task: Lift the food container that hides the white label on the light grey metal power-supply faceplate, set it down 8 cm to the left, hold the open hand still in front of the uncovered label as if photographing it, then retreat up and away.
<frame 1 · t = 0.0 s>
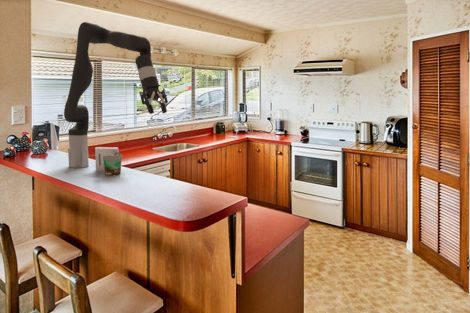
hand: (158, 113, 160), 31 cm above the counter, tool tilted 20°, fingers open, 8 cm apart
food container: (115, 174, 177), on the counter
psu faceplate: (107, 170, 185), on the counter
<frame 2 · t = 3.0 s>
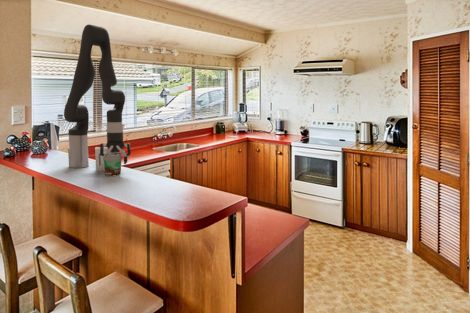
hand: (116, 164, 176), 5 cm above the counter, tool pointing down, fingers open, 8 cm apart
nothing on the counter moved.
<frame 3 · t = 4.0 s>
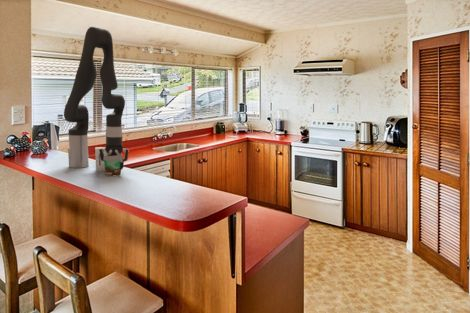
hand: (114, 169, 177), 3 cm above the counter, tool pointing down, fingers closed on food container, 6 cm apart
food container: (116, 174, 178), on the counter, touching gripper
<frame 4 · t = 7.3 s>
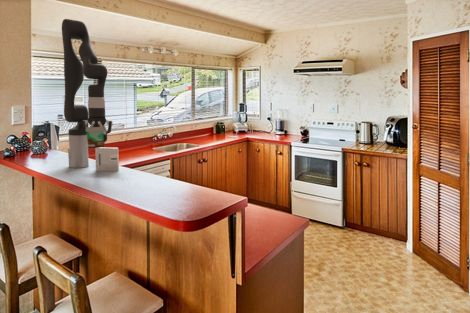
hand: (97, 141, 173), 16 cm above the counter, tool pointing down, fingers closed on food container, 6 cm apart
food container: (99, 147, 174), point 13 cm above the counter, touching gripper
when the fingers open (4 cm above the counter, at t = 10.4 s): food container stays where it is, on the counter.
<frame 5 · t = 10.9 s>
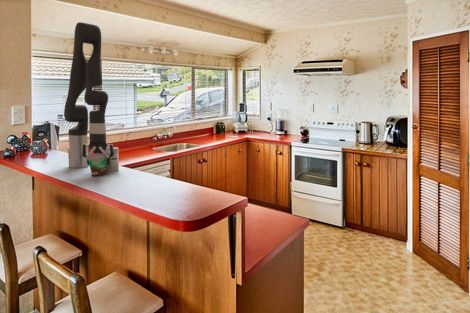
hand: (98, 165, 175), 5 cm above the counter, tool pointing down, fingers open, 8 cm apart
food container: (103, 174, 176), on the counter
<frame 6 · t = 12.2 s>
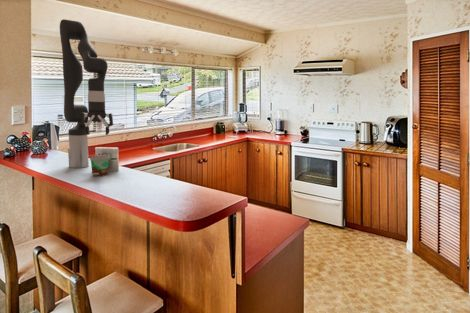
hand: (97, 134, 173), 20 cm above the counter, tool pointing down, fingers open, 8 cm apart
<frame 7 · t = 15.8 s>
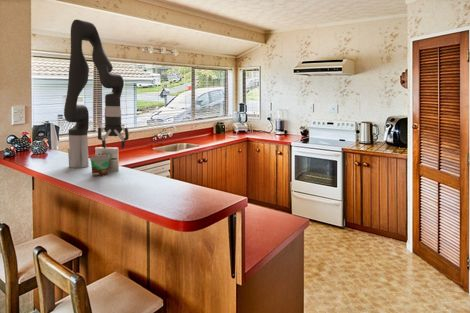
hand: (113, 148, 177), 13 cm above the counter, tool pointing down, fingers open, 8 cm apart
nothing on the counter moved.
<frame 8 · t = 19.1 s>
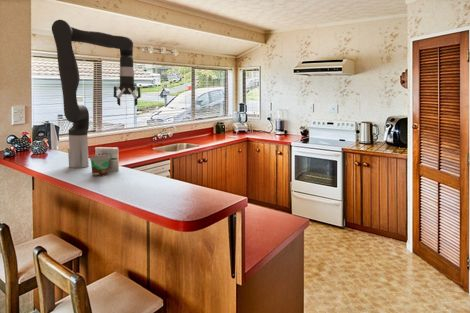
hand: (127, 105, 198), 33 cm above the counter, tool pointing down, fingers open, 8 cm apart
nothing on the counter moved.
at the end: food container inside the target area (2.1 cm from its centre), on the counter; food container tilted 0°; the gripper is holding nothing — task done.
